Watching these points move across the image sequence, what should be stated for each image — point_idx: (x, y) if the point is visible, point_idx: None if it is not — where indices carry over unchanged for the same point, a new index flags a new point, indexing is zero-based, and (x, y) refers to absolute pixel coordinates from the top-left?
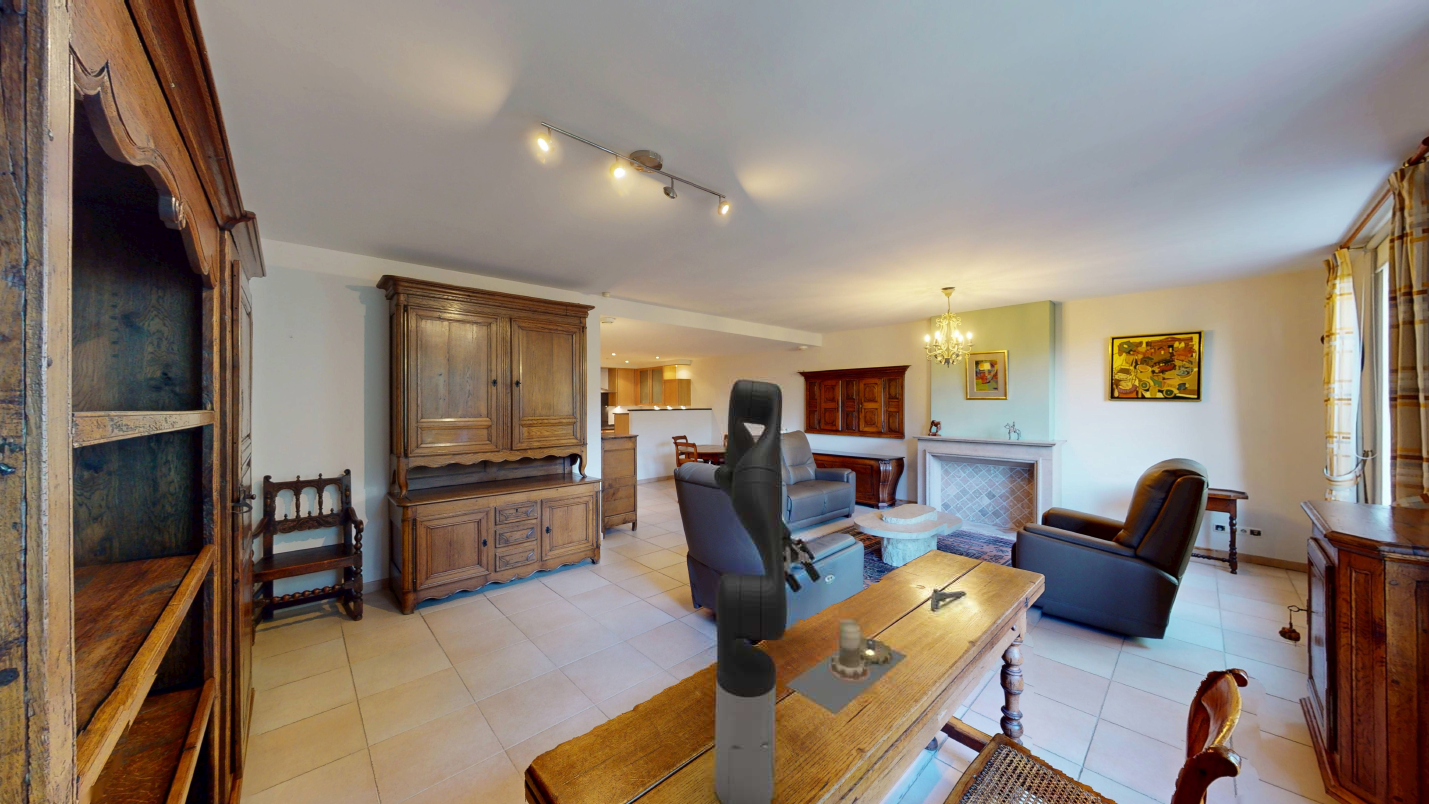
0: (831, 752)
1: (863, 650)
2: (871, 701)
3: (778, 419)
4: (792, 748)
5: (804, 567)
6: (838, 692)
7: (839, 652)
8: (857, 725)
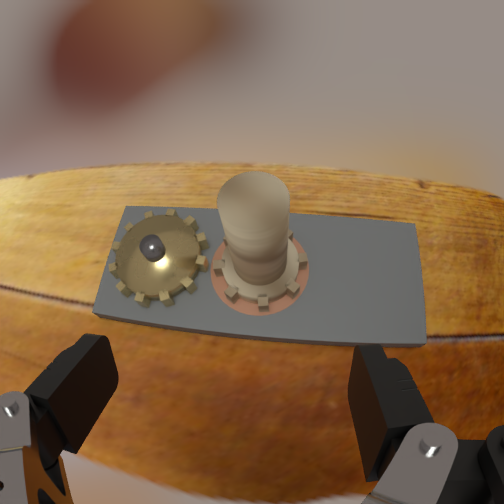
0: (457, 209)
1: (180, 258)
2: (309, 210)
3: None
4: (495, 251)
5: (61, 459)
6: (358, 247)
7: (279, 266)
8: (386, 204)
